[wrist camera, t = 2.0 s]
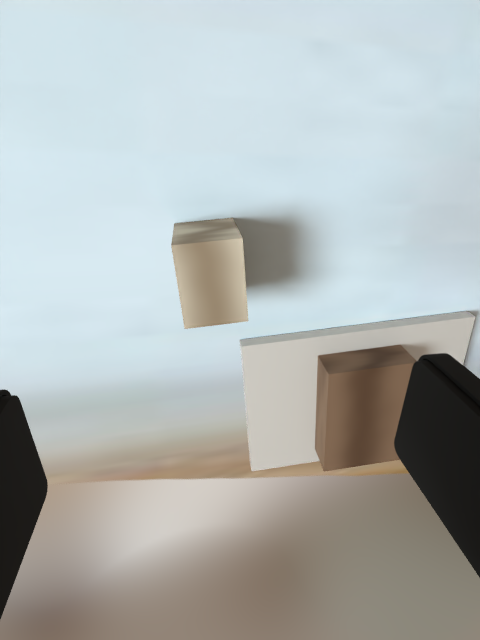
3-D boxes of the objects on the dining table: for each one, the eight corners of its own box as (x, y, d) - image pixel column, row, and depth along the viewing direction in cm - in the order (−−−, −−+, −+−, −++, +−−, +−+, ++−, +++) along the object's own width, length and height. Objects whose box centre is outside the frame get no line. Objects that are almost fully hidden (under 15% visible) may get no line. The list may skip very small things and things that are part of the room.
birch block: (232, 217, 29) (242, 238, 23) (238, 288, 32) (248, 321, 26) (174, 223, 28) (171, 245, 23) (185, 294, 31) (184, 328, 26)
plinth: (400, 344, 35) (418, 362, 32) (386, 437, 40) (400, 459, 38) (317, 355, 34) (328, 374, 32) (314, 448, 40) (323, 471, 37)
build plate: (466, 311, 35) (475, 316, 34) (437, 433, 43) (443, 441, 42) (239, 339, 34) (241, 346, 33) (250, 462, 41) (251, 471, 40)
